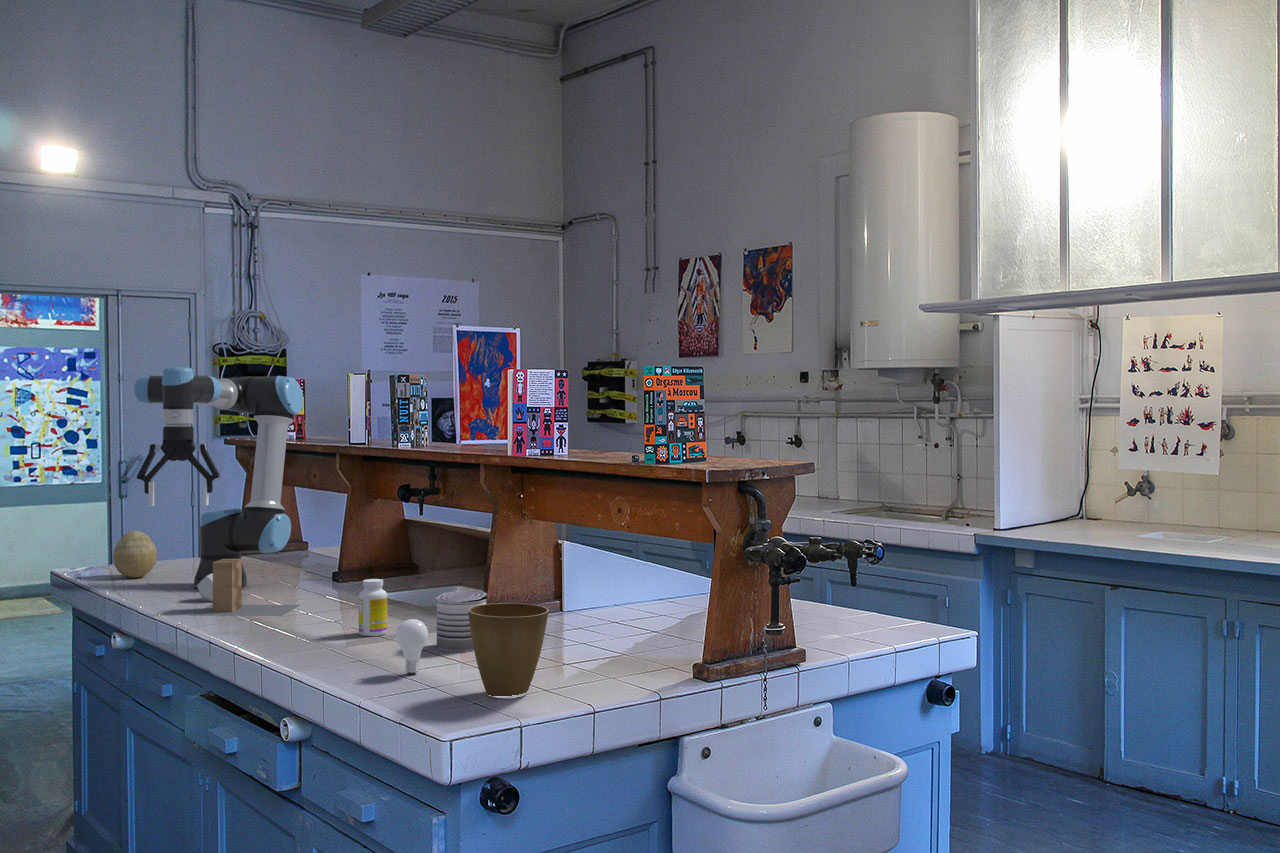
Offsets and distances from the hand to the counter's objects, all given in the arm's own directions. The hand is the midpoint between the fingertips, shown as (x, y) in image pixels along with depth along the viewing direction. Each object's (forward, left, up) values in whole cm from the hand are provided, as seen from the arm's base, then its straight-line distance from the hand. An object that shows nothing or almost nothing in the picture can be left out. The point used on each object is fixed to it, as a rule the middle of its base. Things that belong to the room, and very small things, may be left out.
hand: (178, 505), depth 286 cm
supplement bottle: (+30, +58, -28) cm, 71 cm away
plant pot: (+86, +96, -28) cm, 132 cm away
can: (+44, +81, -28) cm, 97 cm away
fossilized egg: (-59, -38, -28) cm, 75 cm away
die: (-14, +4, -28) cm, 31 cm away
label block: (+1, +13, -27) cm, 30 cm away
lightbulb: (+70, +75, -28) cm, 107 cm away
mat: (+1, +18, -28) cm, 33 cm away
